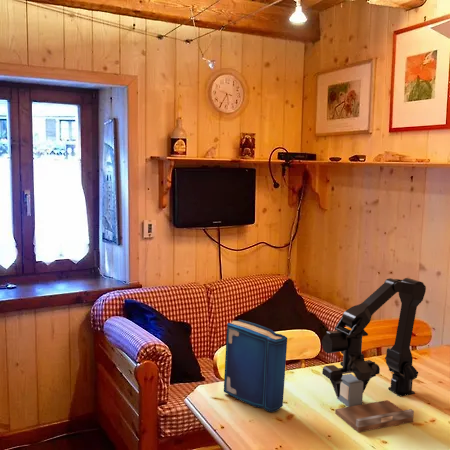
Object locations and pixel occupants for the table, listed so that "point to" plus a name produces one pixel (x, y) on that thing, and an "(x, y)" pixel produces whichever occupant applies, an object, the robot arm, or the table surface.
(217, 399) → the table surface
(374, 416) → the shelf board
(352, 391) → the carton
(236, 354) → the book
